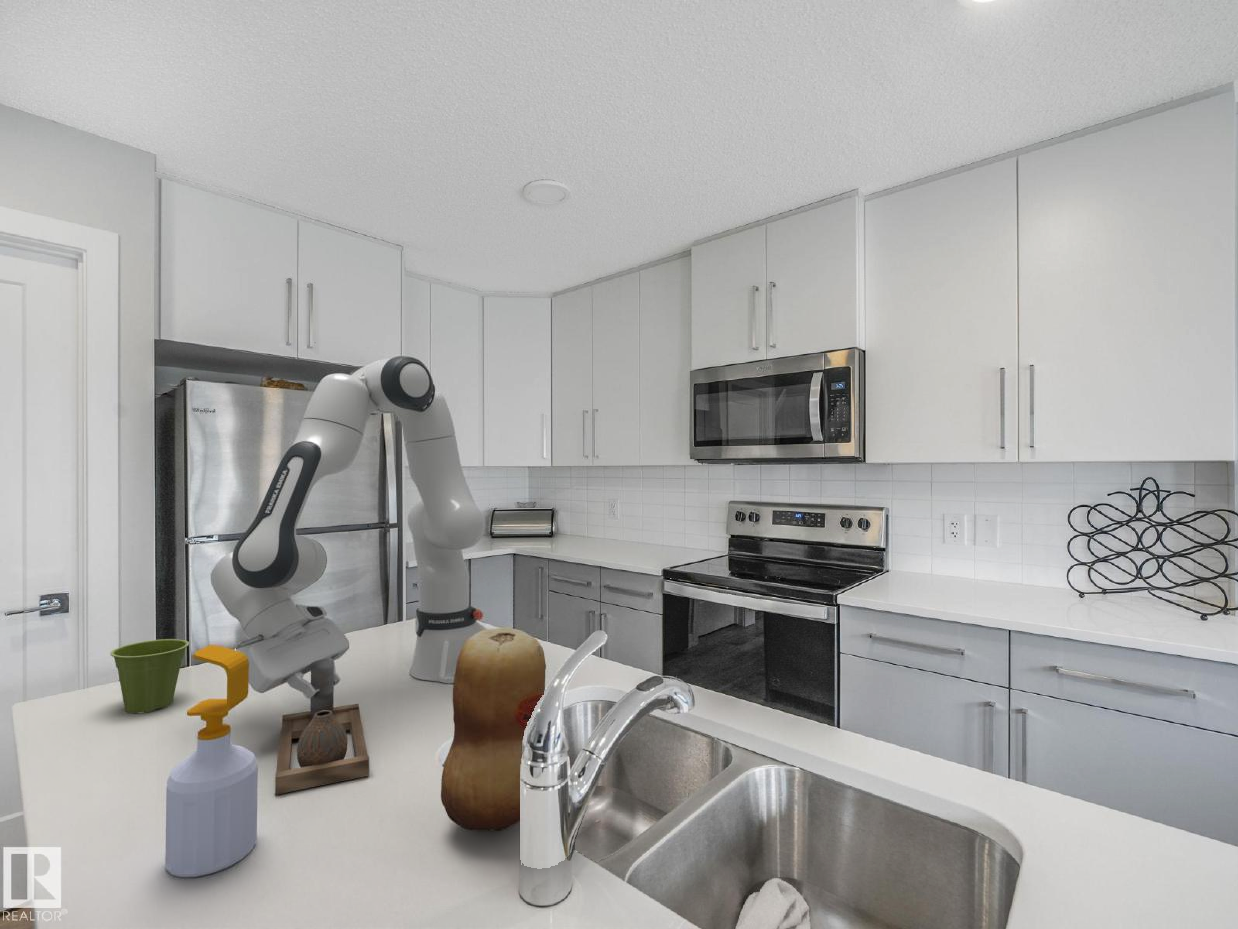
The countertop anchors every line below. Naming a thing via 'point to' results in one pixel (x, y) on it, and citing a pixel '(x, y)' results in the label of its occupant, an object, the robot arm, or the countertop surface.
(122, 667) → the plant pot
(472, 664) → the butternut squash
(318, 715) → the vase
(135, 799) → the countertop surface
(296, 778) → the strip frame
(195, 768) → the soap bottle
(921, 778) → the countertop surface
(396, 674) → the countertop surface
